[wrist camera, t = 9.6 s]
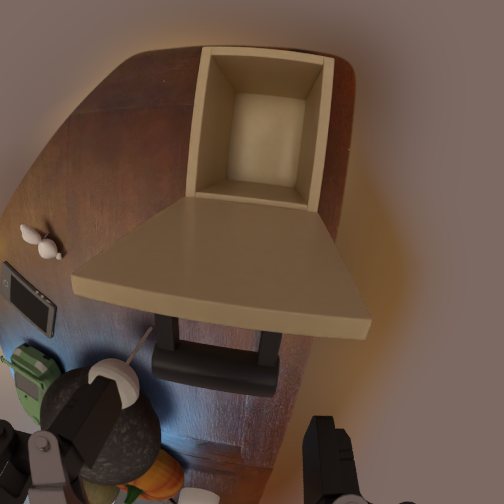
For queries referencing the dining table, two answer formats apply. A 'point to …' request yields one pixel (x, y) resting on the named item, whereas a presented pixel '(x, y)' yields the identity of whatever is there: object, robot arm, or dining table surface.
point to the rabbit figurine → (40, 242)
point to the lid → (228, 287)
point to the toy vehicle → (138, 500)
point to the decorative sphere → (121, 437)
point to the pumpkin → (156, 481)
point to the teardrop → (197, 496)
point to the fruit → (101, 493)
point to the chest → (260, 127)
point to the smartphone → (28, 300)
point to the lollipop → (120, 375)
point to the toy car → (32, 377)
